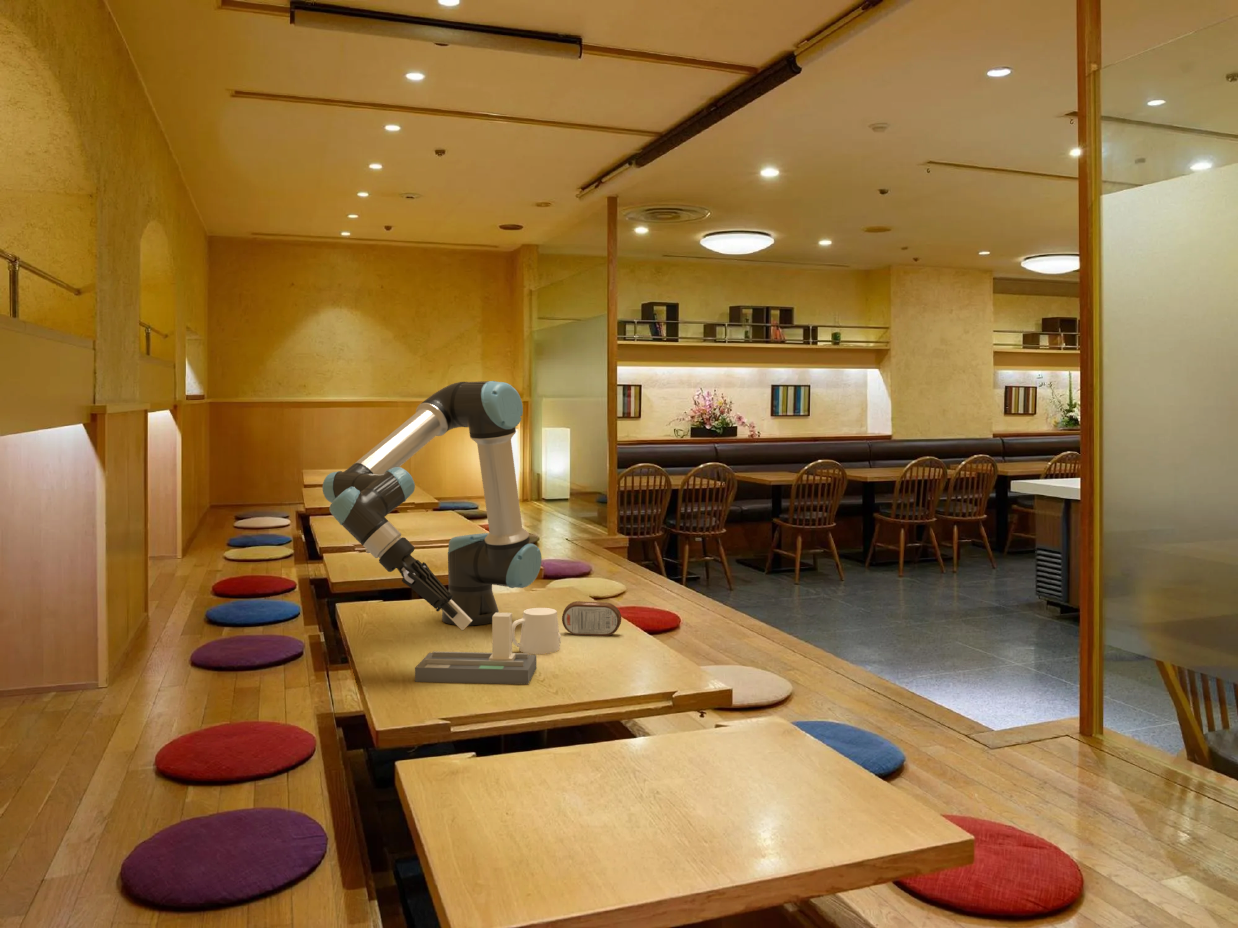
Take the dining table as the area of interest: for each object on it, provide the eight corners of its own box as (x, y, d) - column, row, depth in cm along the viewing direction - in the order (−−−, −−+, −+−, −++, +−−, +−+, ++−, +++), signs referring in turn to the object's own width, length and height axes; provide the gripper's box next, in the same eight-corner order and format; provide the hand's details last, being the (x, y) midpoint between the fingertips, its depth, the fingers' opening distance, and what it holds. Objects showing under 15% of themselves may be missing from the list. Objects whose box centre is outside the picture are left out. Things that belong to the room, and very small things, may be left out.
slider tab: (492, 657, 207) (492, 611, 206) (515, 657, 207) (515, 612, 206) (488, 662, 203) (488, 616, 202) (512, 663, 202) (512, 616, 202)
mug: (553, 606, 231) (564, 612, 224) (553, 643, 232) (564, 651, 225) (505, 610, 226) (516, 617, 219) (505, 649, 227) (516, 657, 220)
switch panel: (429, 665, 212) (429, 648, 212) (536, 668, 211) (536, 650, 210) (415, 681, 200) (414, 662, 200) (528, 684, 199) (528, 665, 198)
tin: (621, 634, 242) (621, 601, 241) (620, 637, 239) (620, 604, 238) (562, 632, 243) (563, 600, 243) (561, 635, 240) (561, 602, 239)
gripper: (386, 554, 211) (461, 629, 211) (368, 565, 198) (448, 645, 198) (410, 531, 210) (485, 606, 211) (393, 540, 197) (473, 620, 198)
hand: (467, 625), depth 205 cm, fingers closed
